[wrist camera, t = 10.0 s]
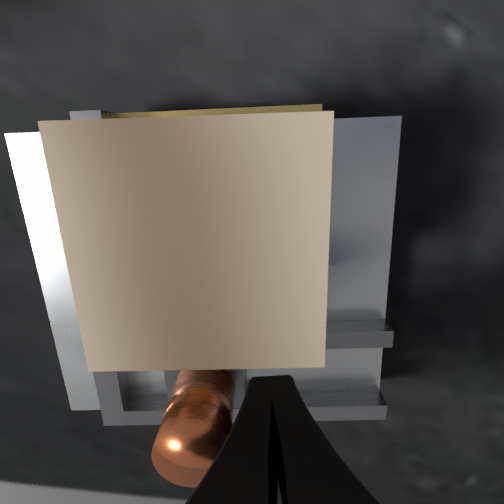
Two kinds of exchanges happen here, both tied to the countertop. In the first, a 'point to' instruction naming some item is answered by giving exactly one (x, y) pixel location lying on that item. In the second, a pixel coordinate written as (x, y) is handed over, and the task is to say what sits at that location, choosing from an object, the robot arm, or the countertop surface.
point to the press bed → (339, 277)
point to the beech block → (196, 238)
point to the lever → (196, 421)
